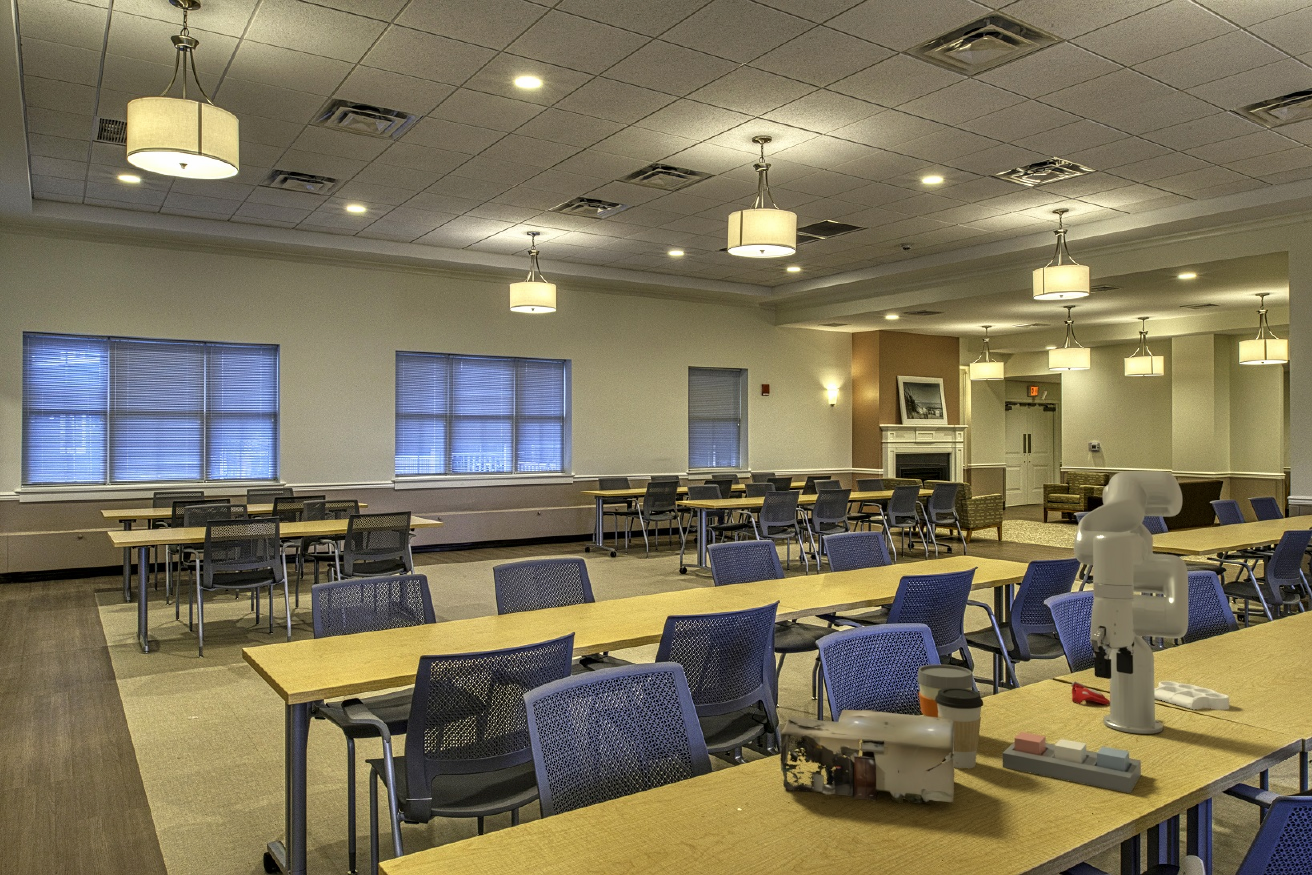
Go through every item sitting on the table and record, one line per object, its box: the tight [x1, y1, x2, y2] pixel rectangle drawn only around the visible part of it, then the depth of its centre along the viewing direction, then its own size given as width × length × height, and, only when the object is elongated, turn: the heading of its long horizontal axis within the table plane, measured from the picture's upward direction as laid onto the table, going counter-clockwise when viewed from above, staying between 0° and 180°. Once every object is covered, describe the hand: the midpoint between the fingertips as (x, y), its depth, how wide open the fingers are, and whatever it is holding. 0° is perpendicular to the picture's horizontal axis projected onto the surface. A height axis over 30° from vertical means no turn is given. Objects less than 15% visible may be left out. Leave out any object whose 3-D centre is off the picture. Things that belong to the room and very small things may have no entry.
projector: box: [779, 709, 955, 805], centre depth 175 cm, size 18×33×13 cm, turn 71°
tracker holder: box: [1070, 681, 1110, 705], centre depth 234 cm, size 12×4×10 cm
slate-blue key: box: [1096, 746, 1130, 772], centre depth 178 cm, size 5×5×4 cm
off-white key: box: [1055, 738, 1087, 764], centre depth 183 cm, size 5×5×4 cm
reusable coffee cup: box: [917, 664, 974, 718], centre depth 207 cm, size 13×13×15 cm
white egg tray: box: [1155, 680, 1230, 711], centre depth 232 cm, size 3×18×15 cm
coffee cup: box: [935, 688, 984, 769], centre depth 188 cm, size 10×10×15 cm
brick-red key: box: [1014, 731, 1047, 756], centre depth 188 cm, size 5×5×4 cm
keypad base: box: [1002, 741, 1142, 794], centre depth 183 cm, size 12×24×3 cm, turn 52°
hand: (1114, 675), depth 184 cm, fingers open, 9 cm apart
